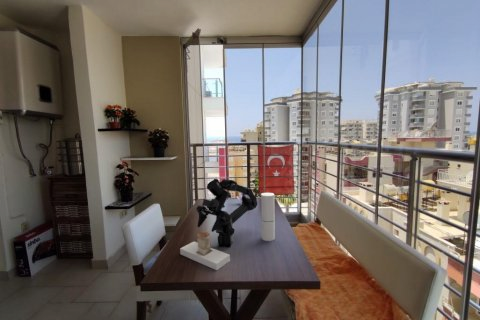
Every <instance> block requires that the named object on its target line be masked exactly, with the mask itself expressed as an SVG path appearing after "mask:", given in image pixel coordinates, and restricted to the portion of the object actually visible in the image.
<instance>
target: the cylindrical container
mask: <svg viewBox="0 0 480 320" xmlns="http://www.w3.org/2000/svg"><path fill="white" fill-rule="evenodd" d="M260 194H261V195H260V201H261V203H260V204H261V206H260V207H261V208H260V209H261V210H260V211H261V240H262V241H264V242H272V241H275V238H276V237H275V236H276V235H275V234H276V233H275V232H276V230H275V229H276V228H275V227H276V226H275V224H276V222H275V218H276V217H275V214H276V212H275V210H276V209H275V193H273V192H262V193H260Z"/></svg>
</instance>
